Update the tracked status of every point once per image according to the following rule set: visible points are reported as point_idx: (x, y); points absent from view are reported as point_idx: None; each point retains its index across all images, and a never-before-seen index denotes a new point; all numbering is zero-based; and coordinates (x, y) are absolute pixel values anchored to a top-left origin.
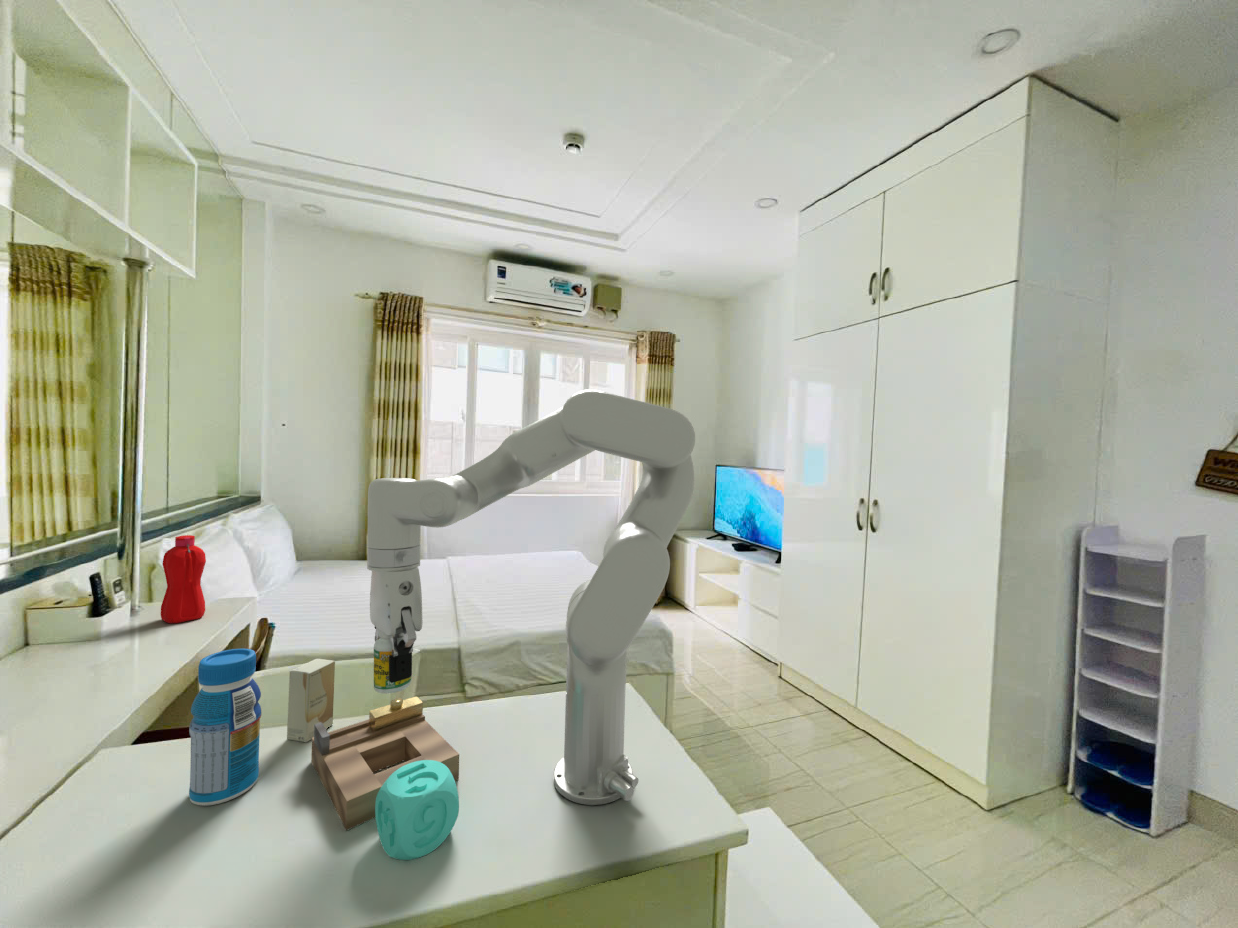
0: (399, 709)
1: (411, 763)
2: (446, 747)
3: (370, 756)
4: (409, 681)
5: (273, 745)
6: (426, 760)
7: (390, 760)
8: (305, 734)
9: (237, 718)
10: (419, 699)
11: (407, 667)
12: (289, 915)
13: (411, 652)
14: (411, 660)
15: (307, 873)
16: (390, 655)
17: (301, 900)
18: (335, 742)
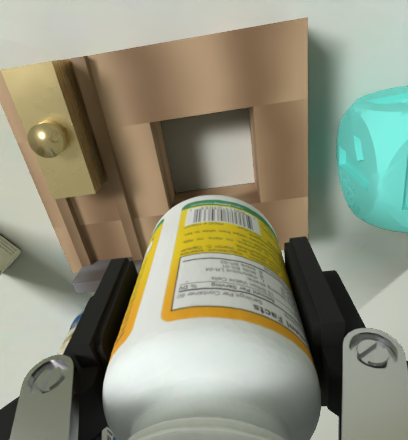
0: (72, 133)
1: (388, 176)
2: (257, 40)
3: (167, 188)
4: (258, 214)
5: (12, 287)
6: (404, 144)
7: (162, 142)
8: (12, 260)
9: (111, 432)
10: (27, 66)
11: (344, 290)
12: (390, 281)
13: (371, 331)
14: (327, 283)
15: (341, 264)
16: (321, 402)
17: (379, 271)
18: (109, 244)
